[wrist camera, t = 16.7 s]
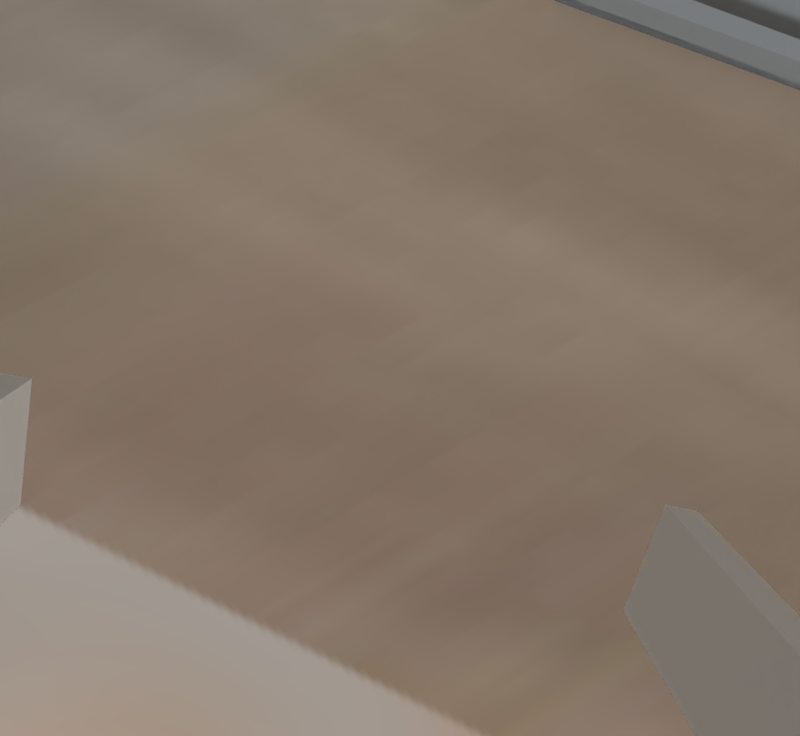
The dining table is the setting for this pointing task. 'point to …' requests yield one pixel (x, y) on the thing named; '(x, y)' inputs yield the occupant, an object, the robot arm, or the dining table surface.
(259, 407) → the dining table surface
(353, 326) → the dining table surface
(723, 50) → the tray
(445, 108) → the dining table surface
